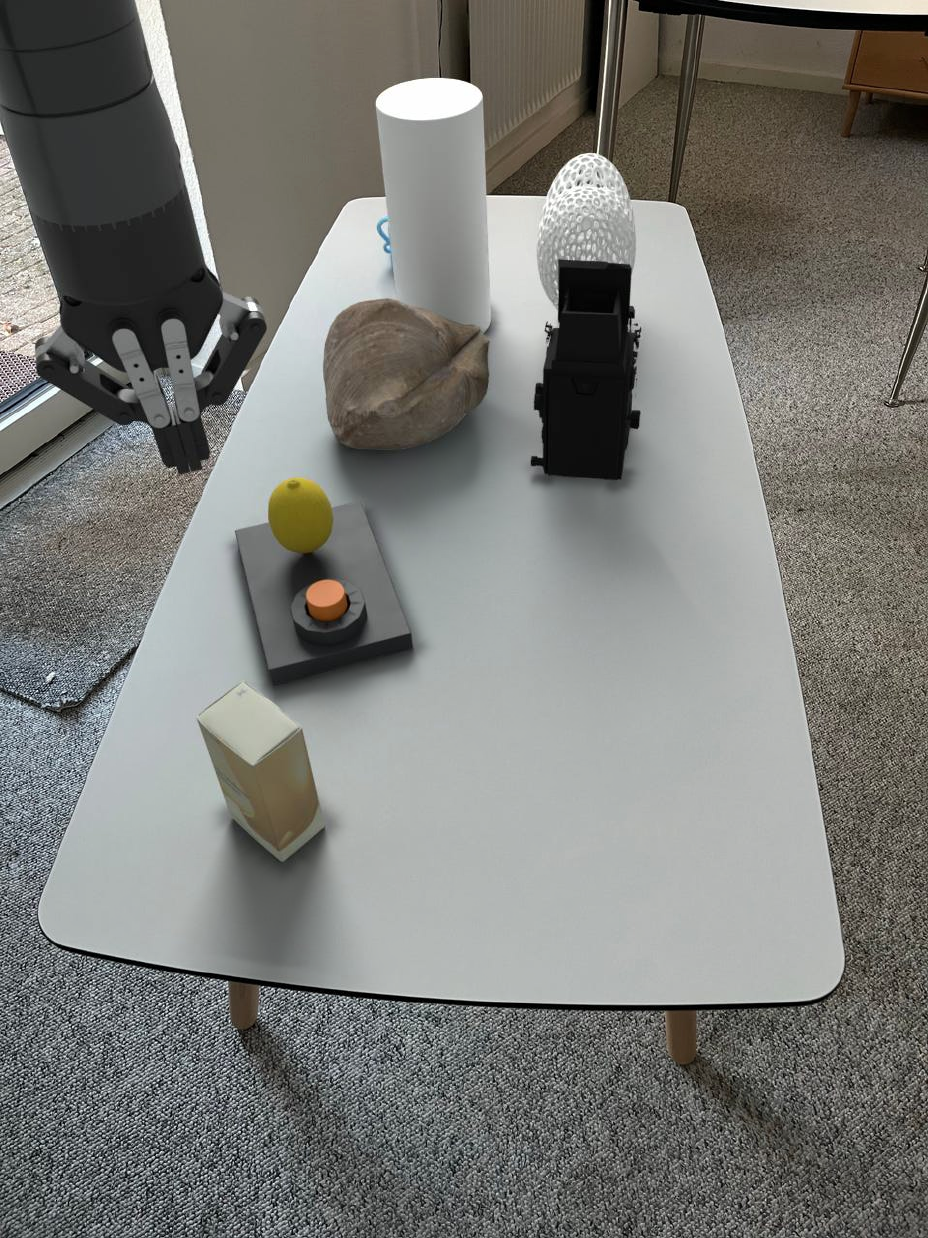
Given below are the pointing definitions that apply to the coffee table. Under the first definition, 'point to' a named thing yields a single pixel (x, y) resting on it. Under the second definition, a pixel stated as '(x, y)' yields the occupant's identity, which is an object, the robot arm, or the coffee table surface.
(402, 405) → the seashell
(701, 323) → the coffee table surface
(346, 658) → the dark grey base plate
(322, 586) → the button
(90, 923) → the coffee table surface
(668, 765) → the coffee table surface
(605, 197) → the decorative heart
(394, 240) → the tall pillar cylinder
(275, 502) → the lemon
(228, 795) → the cosmetic box
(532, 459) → the camera
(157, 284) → the robot arm
